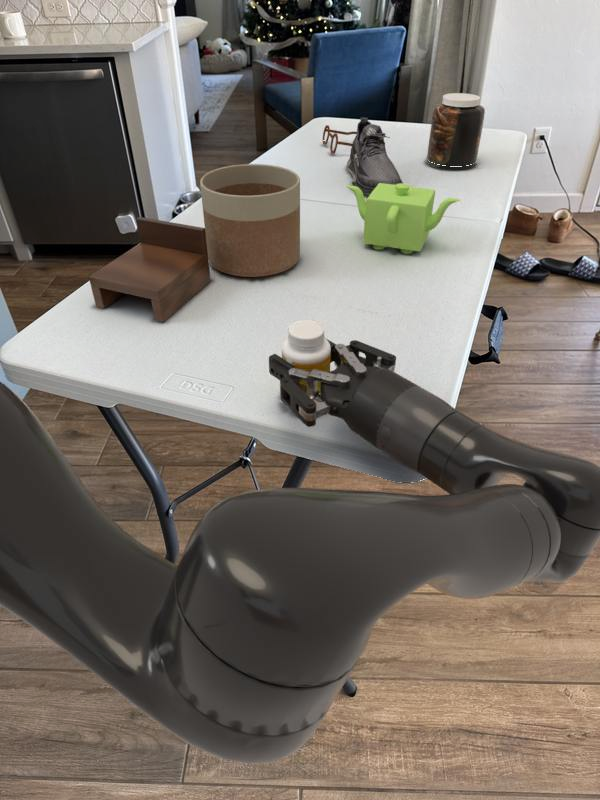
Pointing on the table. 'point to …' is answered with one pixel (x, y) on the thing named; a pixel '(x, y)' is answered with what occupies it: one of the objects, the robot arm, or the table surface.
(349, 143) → the glasses
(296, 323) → the supplement bottle
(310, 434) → the table surface
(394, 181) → the shoe
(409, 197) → the teapot
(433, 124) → the jar
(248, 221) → the planter
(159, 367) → the table surface
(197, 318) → the table surface
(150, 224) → the shelf
